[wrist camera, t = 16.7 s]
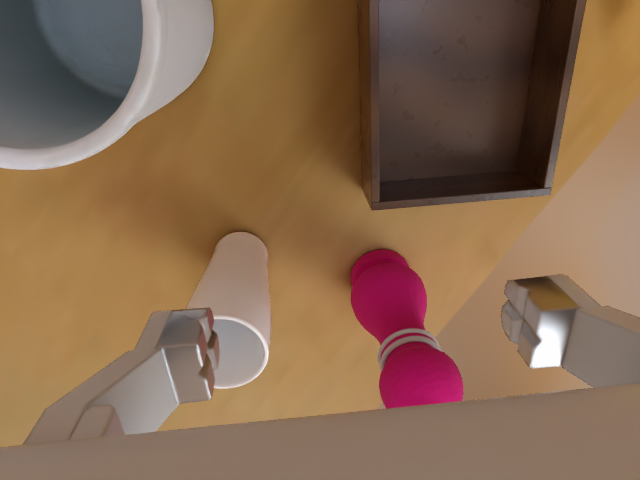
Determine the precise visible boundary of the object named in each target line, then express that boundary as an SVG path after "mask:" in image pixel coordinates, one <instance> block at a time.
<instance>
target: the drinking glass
mask: <svg viewBox="0 0 640 480" xmlns="http://www.w3.org/2000/svg"><path fill="white" fill-rule="evenodd" d="M209 307H210V309H211V310H212V313H213V317H214V324H213V328H212V330H214V331H215V332H216V333H217V335H218V340H219V348H220V353H219V364H218V368H217V369H216V370H215V371H214V372H213V373H214V377H215V384H214V388H221V389H225V388H234V387H238V386H242V385H244V384H247V383H249V382H250V381H252V380H254V379H255V378H256V377H257V376H258V375H259V374H260V373H261V372H262V371H263V370H264V368H265V366H266V364H267V361H268V356H269V348H270V341H271V325H272V317H271V302H270V290H269V277H268V251H267V248H266V246H265V244H264V243H263V242H262V241H261V240H260V239H259V238H258V237H256V236H255V235H253V234H250V233H247V232H234V233H230V234H228V235H226V236H224V237H223V238H222V239H221V240H220V241H219V242H218V244H217V245H216V247H215V250H214V253H213V256H212V257H211V259H210V261H209V263H208V265H207V267H206V269H205V271H204V273H203V275H202V277H201V278H200V280H199V282H198V284H197V286H196V288H195V290H194V292H193V293H192V295H191V297H190V299H189V301H188V304H187V306H186V308H185V309H195V308H209Z"/></svg>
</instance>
